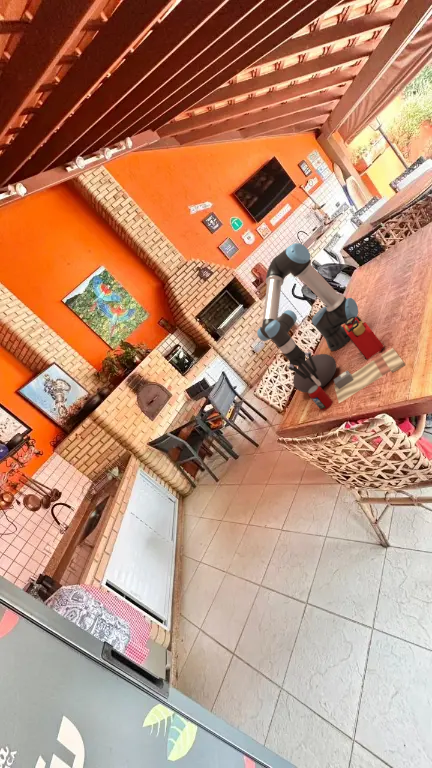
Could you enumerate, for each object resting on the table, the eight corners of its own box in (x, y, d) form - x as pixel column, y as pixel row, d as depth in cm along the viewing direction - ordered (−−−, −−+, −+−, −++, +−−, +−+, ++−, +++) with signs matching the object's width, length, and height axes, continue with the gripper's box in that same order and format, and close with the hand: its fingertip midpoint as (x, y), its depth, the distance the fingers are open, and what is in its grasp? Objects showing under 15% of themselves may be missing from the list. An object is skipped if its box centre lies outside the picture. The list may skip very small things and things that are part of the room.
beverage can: (320, 409, 186) (305, 391, 183) (331, 400, 185) (315, 382, 182) (325, 413, 179) (309, 395, 176) (336, 404, 178) (320, 386, 175)
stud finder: (337, 384, 189) (332, 378, 188) (351, 375, 186) (346, 369, 185) (339, 389, 185) (334, 383, 184) (353, 379, 182) (348, 373, 181)
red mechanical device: (386, 349, 183) (362, 318, 179) (367, 362, 187) (343, 332, 182) (378, 339, 197) (355, 310, 193) (361, 351, 201) (338, 322, 196)
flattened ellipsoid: (339, 388, 188) (320, 366, 184) (299, 405, 205) (281, 386, 201) (346, 360, 205) (329, 340, 202) (308, 378, 222) (292, 360, 219)
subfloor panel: (335, 387, 191) (334, 385, 191) (394, 349, 178) (392, 347, 178) (340, 405, 175) (338, 403, 175) (405, 364, 162) (403, 362, 162)
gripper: (278, 359, 181) (309, 395, 187) (301, 343, 176) (332, 380, 182) (279, 354, 188) (308, 388, 193) (301, 338, 183) (330, 374, 188)
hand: (319, 384), depth 188 cm, fingers closed
